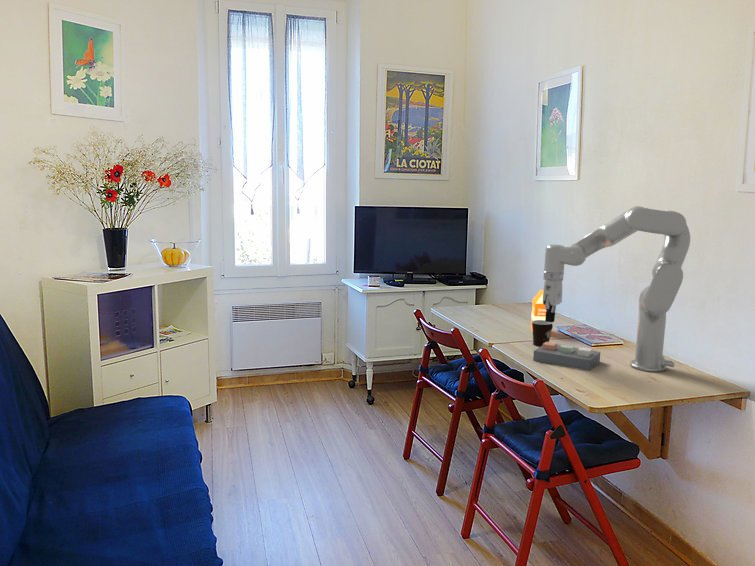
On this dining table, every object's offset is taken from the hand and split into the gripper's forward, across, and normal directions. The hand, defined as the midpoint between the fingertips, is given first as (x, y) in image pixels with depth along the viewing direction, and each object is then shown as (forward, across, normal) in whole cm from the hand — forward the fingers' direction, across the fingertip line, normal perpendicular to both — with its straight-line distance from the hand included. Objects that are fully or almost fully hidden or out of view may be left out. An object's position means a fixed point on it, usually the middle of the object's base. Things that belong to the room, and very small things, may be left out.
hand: (549, 321), depth 244 cm
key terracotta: (+12, 0, -1) cm, 12 cm away
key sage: (+12, 0, -8) cm, 14 cm away
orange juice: (+15, +39, +17) cm, 46 cm away
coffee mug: (+15, +19, +8) cm, 26 cm away
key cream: (+12, 0, -15) cm, 19 cm away
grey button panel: (+15, 0, -8) cm, 17 cm away
